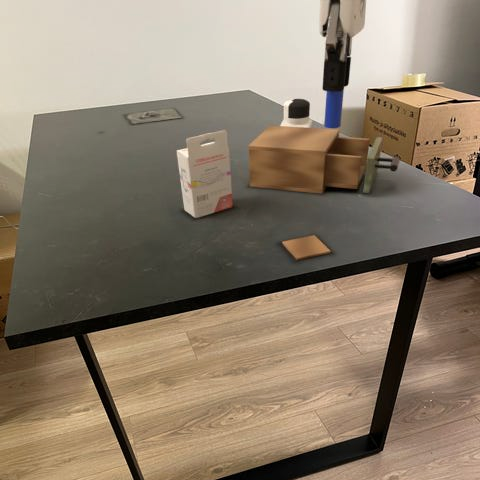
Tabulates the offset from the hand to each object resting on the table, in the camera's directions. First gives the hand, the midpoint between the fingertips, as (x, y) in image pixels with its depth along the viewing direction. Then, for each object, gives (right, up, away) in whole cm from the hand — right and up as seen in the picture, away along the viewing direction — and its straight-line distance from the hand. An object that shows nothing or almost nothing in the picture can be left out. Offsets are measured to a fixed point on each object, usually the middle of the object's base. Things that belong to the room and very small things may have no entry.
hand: (335, 87), depth 72 cm
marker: (0, -5, +4) cm, 6 cm away
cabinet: (-3, -5, +31) cm, 31 cm away
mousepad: (-46, +26, +74) cm, 91 cm away
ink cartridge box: (-21, -14, +20) cm, 32 cm away
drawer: (+8, -6, +26) cm, 28 cm away
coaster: (-4, -24, +6) cm, 25 cm away
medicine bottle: (-1, +5, +44) cm, 44 cm away
